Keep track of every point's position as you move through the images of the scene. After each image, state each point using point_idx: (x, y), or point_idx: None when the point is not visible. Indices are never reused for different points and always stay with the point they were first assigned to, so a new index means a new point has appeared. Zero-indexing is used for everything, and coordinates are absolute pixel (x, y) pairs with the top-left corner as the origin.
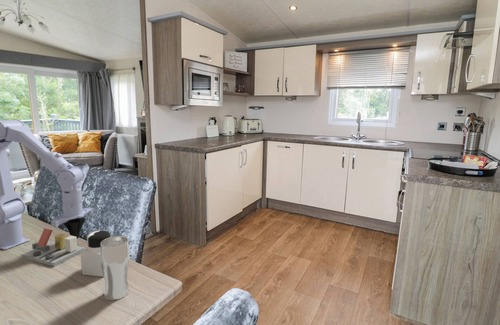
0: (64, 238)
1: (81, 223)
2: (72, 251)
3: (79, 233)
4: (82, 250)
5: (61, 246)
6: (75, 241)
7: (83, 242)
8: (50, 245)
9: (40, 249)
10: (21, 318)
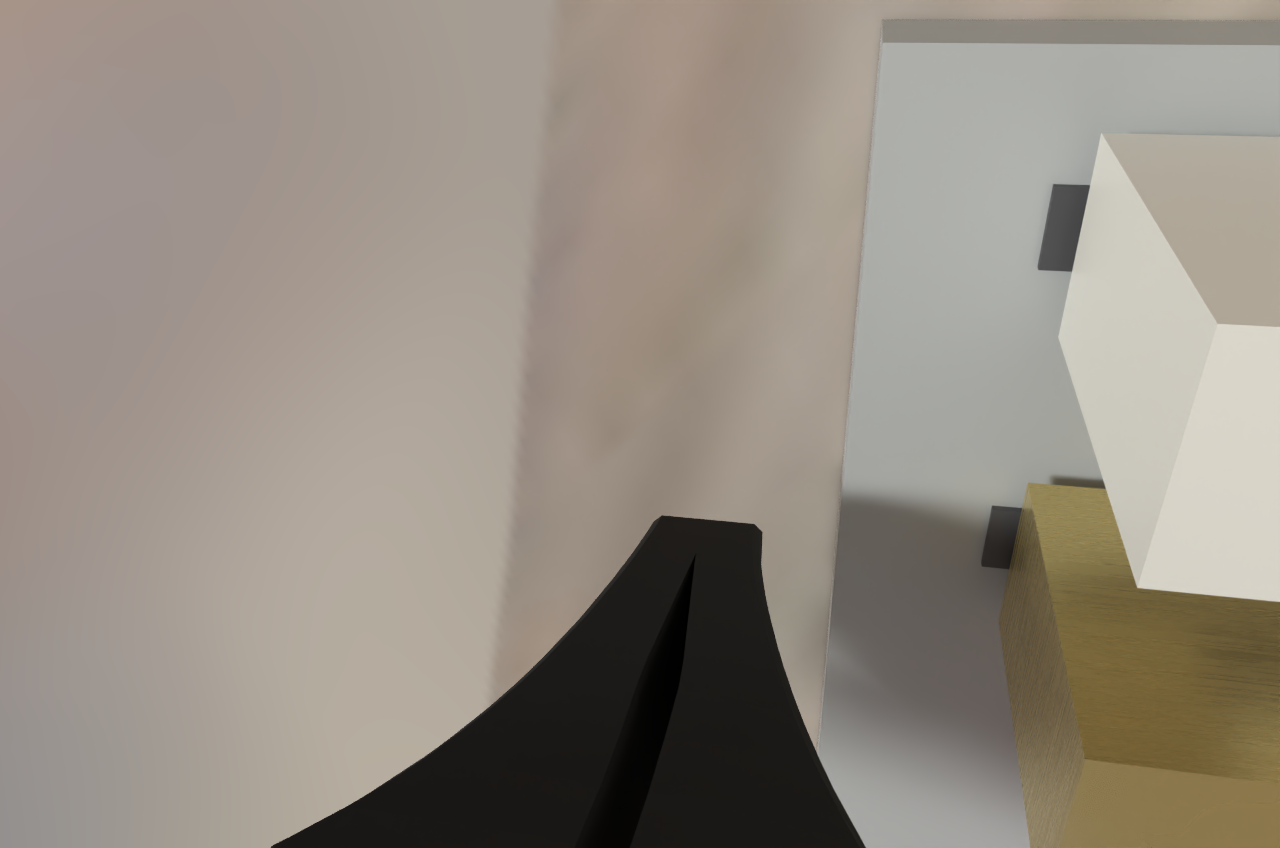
0: (1152, 682)
1: (475, 819)
2: None
3: (623, 581)
4: (979, 34)
5: None
6: (1237, 242)
7: (562, 413)
8: None
9: None
10: None
